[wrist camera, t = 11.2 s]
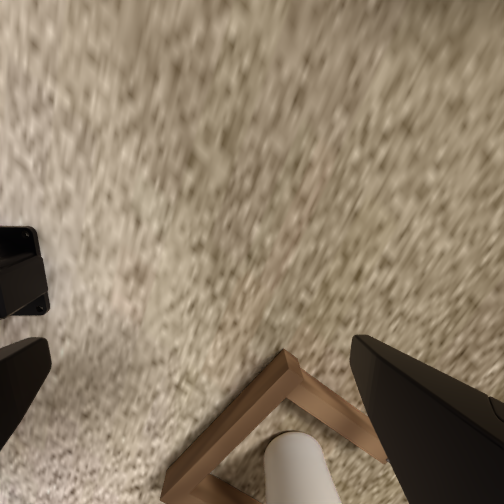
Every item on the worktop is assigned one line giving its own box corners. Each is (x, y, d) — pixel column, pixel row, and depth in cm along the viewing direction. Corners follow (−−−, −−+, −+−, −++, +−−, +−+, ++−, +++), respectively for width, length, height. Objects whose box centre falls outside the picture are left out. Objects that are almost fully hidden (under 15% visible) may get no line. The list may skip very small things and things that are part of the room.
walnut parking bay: (166, 470, 27) (159, 501, 24) (283, 348, 24) (289, 369, 21) (272, 529, 29) (276, 562, 27) (389, 425, 26) (404, 452, 24)
